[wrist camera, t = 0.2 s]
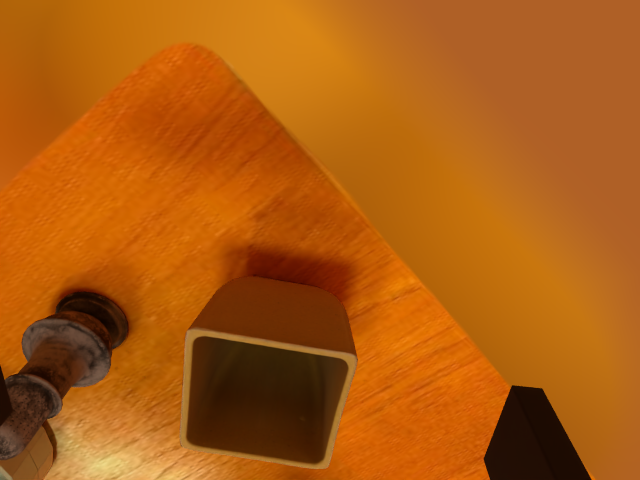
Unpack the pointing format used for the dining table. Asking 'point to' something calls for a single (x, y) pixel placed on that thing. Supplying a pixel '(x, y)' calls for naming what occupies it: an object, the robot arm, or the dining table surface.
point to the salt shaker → (60, 363)
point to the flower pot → (267, 373)
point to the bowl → (30, 460)
